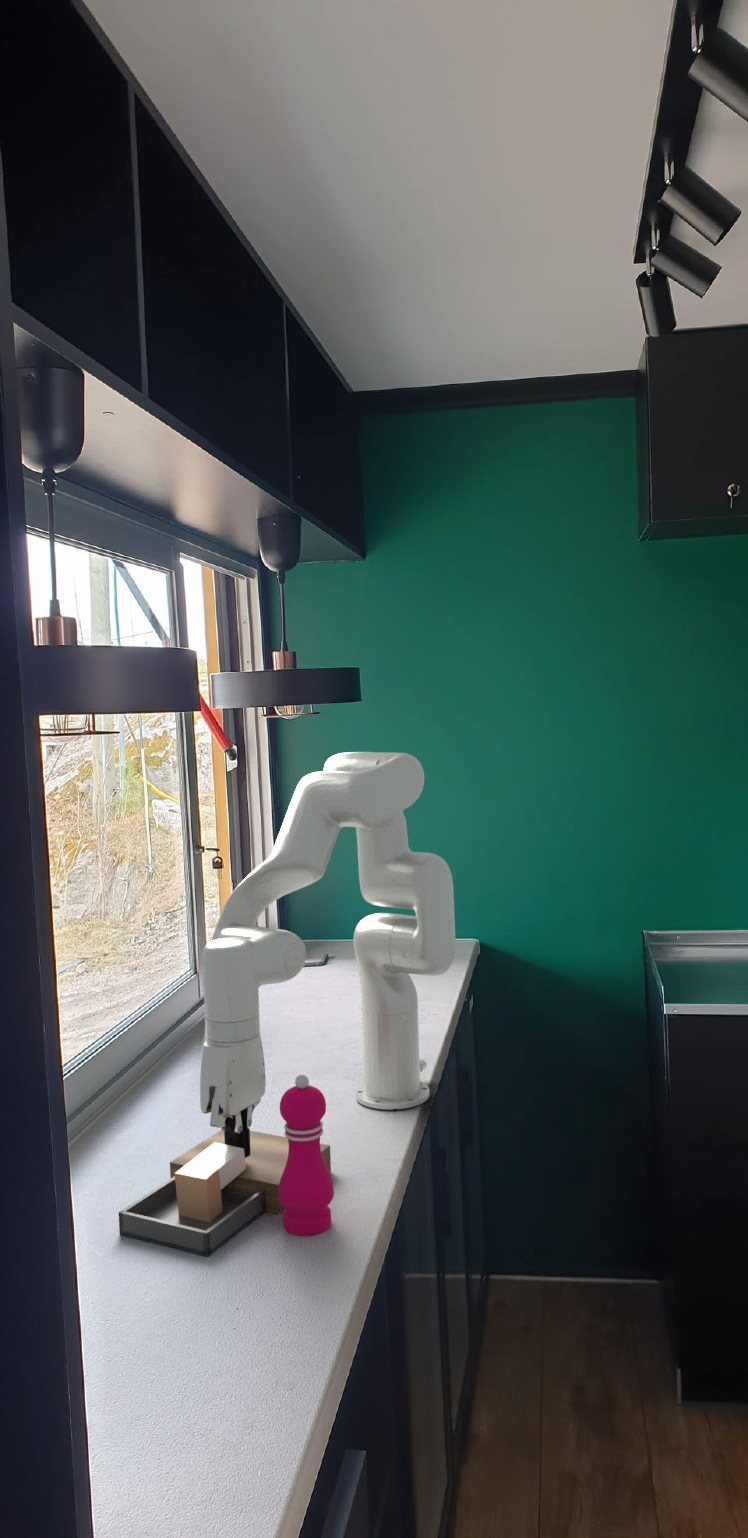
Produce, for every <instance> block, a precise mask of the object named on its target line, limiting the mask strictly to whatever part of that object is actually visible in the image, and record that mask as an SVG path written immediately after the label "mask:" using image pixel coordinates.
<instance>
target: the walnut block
mask: <svg viewBox="0 0 748 1538" xmlns="http://www.w3.org/2000/svg"><path fill="white" fill-rule="evenodd" d="M214 1142H216V1143H221V1144H225V1136H224V1131H223V1130H222V1129H221V1130H219V1131H217V1132H216V1133H214V1134H212V1135H211V1136H210V1137H207V1138H206V1139H205V1140H203V1141H202V1142H200V1143H198V1144H196V1145H195V1146H193V1147H192V1148H190V1149H189V1150H186V1151H185V1152H183V1153H182V1154H181V1155H179V1156H177V1157H176V1158H174V1159H173V1160H171V1161H170V1162H169V1166H170V1167H169V1176H170V1179H171V1178H172V1177H174V1176H175V1174H174V1173H175V1172H177V1171H178V1170H179V1169H180V1168H182V1167H183V1166H184V1165H185V1164H187V1163H189V1162H190V1161H191V1160H192V1159H194V1158H195V1157H196V1156H198V1155H199V1154H200V1153H201V1152H203V1151H204V1150H205V1149H207V1148H208V1147H209V1146H210V1145H212V1144H213V1143H214ZM320 1148H321V1154H322V1158H323V1160H324V1163H325V1165H326V1167H327V1169H328V1171H329V1173H330V1172H331V1173H332V1165H331V1164H332V1163H331V1145H330V1144H325V1143H320ZM250 1152H251V1154H250V1156H248V1157H246V1158H245V1164H246V1169H245V1170H244V1171H243V1172H242V1173H240V1174H239V1175H238V1176H237V1177H236V1178H234V1179H233V1180H232V1181H231V1182H230V1183H229V1184H227V1185H226V1186H225V1187H224V1188H223V1189H227V1190H232V1191H237V1192H241V1193H246V1194H250V1195H254V1194H255V1193H257V1192H258V1191H259V1190H264V1192H265V1212H269V1213H273V1214H278V1215H280V1214H281V1213H283V1212H284V1210H285V1209H286V1208H285V1207H284V1206H283V1205H282V1204H281V1202H280V1200H279V1184H280V1179H281V1176H282V1174H283V1171H284V1169H285V1166H286V1163H287V1158H288V1152H289V1143H288V1138H287V1137H286V1136H281V1135H276V1134H271V1133H266V1132H261V1131H255V1130H250ZM331 1173H330V1174H331Z"/></svg>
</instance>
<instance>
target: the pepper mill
mask: <svg viewBox="0 0 748 1538" xmlns="http://www.w3.org/2000/svg"><path fill="white" fill-rule="evenodd" d="M294 1083H295V1085H294V1086H292V1087H290V1088H288V1089H287V1090H286V1091H285V1092H284V1093H283V1095H282V1096H281V1098H280V1101H279V1113H280V1116H281V1118H282V1119H283V1120H284V1121H285V1124H284V1126H283V1128H284V1130H285V1131H284V1137H287V1138H288V1143H289V1152H288V1158H287V1163H286V1166H285V1169H284V1171H283V1174H282V1176H281V1179H280V1184H279V1200H280V1202H281V1204H282V1205H283V1206H284V1207H285V1208H286V1209H285V1210H283V1211H282V1219H283V1220H282V1222H283V1228H284V1230H285V1231H286V1232H287V1233H289V1234H292V1235H295V1236H301V1237H302V1236H305V1237H306V1236H314V1235H318V1234H321V1233H323V1232H325V1231H327V1230H328V1229H329V1228H330V1227H331V1225H332V1211H331V1210H332V1209H331V1208H330V1206H329V1204H331V1202H332V1201H333V1199H334V1195H335V1191H334V1190H335V1189H334V1182H333V1179H332V1176H331V1173H329V1171H328V1169H327V1167H326V1165H325V1163H324V1160H323V1158H322V1154H321V1148H320V1144H321V1136H323V1134H324V1129H323V1126H324V1123H323V1122H322V1119H323V1117H325V1114H326V1110H327V1103H326V1098H325V1095H324V1094H323V1093H322V1091H321V1090H320V1089H318V1088H317V1087H315V1086H312V1085H310V1084H309V1083H310V1080H309V1077H307V1075H305V1074H299V1075H297V1076H296V1078H295V1080H294Z"/></svg>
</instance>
